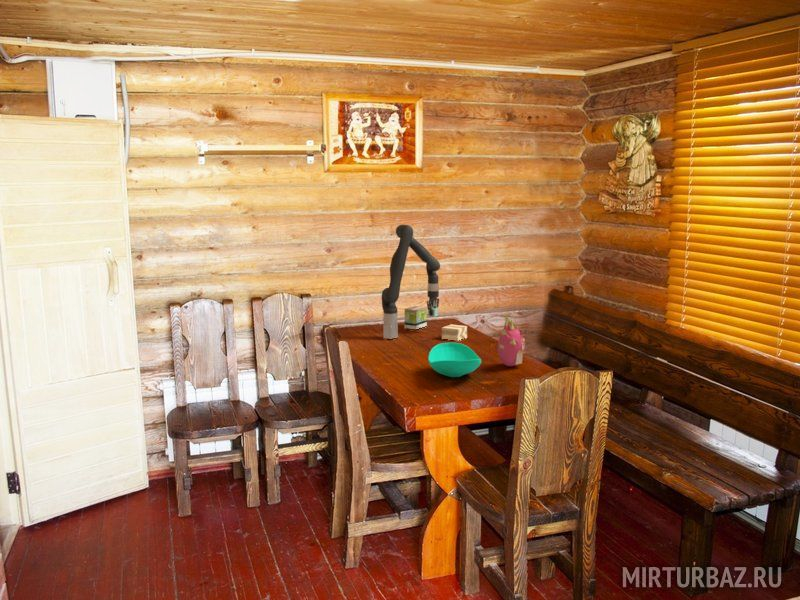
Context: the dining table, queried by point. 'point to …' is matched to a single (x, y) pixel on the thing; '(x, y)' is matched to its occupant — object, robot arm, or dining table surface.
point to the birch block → (454, 332)
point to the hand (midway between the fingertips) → (432, 314)
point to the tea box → (415, 317)
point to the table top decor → (453, 359)
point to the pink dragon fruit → (511, 344)
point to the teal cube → (434, 312)
